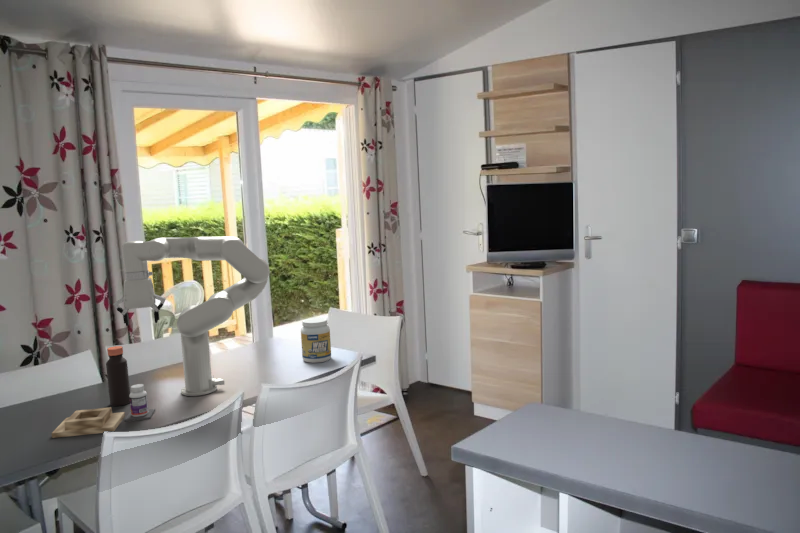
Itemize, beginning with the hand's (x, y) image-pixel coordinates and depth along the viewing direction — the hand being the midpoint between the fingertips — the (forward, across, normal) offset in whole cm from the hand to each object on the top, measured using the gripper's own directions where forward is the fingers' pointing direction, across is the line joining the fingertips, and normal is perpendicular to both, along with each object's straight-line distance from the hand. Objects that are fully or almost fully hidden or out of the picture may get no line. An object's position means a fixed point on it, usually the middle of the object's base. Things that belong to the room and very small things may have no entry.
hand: (142, 323), depth 236 cm
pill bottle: (+26, +1, +21) cm, 34 cm away
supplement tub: (+28, -64, -25) cm, 74 cm away
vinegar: (+27, +9, +4) cm, 29 cm away
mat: (+27, +1, +21) cm, 34 cm away
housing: (+27, +15, +26) cm, 40 cm away
